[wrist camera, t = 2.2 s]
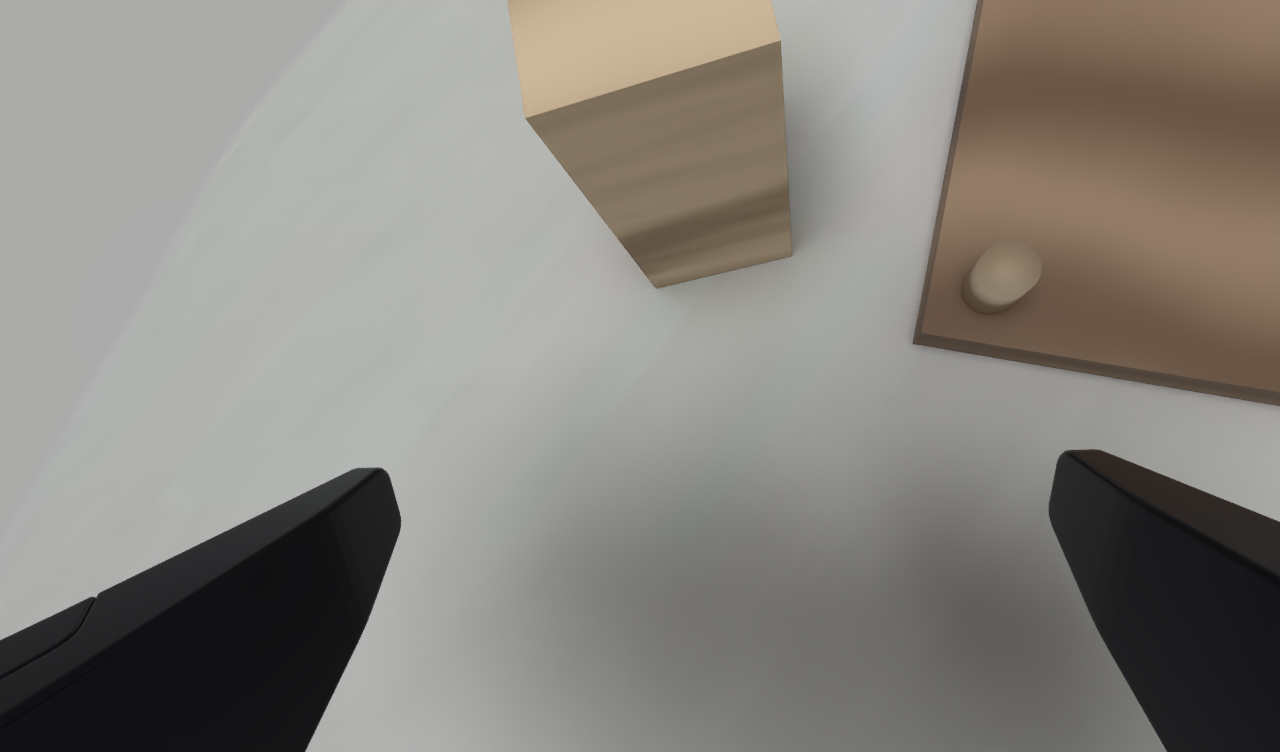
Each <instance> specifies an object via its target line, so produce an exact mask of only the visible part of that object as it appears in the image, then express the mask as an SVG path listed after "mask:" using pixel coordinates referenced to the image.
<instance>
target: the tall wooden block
mask: <svg viewBox="0 0 1280 752" xmlns="http://www.w3.org/2000/svg"><path fill="white" fill-rule="evenodd" d="M507 2H508V9H509V15H510V22H511V28H512V35H513V41H514V48H515V55H516V61H517V68H518V74H519V81H520V88H521V94H522V101H523V107H524V114H525V119H526V120H527V121H528V123H529V124H530V125H531V126H532V128H533V129H534V130H535V132H536V133H537V134H538V136H539V137H540V138H541V139H542V141H543V142H544V143H545V145H546V146H547V147H548V149H549V150H550V151H551V152H552V154H553V155H554V156H555V158H556V159H557V160H558V162H559V163H560V164H561V166H562V167H563V168H564V169H565V171H566V172H567V173H568V175H569V176H570V177H571V179H572V180H573V181H574V182H575V184H576V185H577V186H578V188H579V189H580V190H581V192H582V193H583V194H584V195H585V197H586V198H587V199H588V201H589V202H590V203H591V205H592V206H593V207H594V208H595V210H596V211H597V212H598V214H599V215H600V216H601V218H602V219H603V220H604V222H605V223H606V224H607V225H608V227H609V228H610V229H611V231H612V232H613V233H614V235H615V236H616V237H617V238H618V240H619V241H620V242H621V244H622V245H623V246H624V248H625V249H626V250H627V251H628V253H629V254H630V255H631V257H632V258H633V259H634V261H635V262H636V263H637V264H638V266H639V267H640V268H641V270H642V271H643V272H644V274H645V275H646V276H647V278H648V279H649V280H650V281H651V283H652V284H653V285H654V287H655V288H656V289H657V288H661V287H665V286H669V285H673V284H677V283H682V282H686V281H690V280H694V279H698V278H702V277H707V276H711V275H715V274H719V273H723V272H727V271H732V270H736V269H740V268H744V267H748V266H752V265H756V264H761V263H765V262H769V261H773V260H777V259H781V258H786V257H790V256H792V245H791V226H790V207H789V189H788V170H787V151H786V132H785V114H784V95H783V76H782V57H781V40H780V36H779V32H778V27H777V23H776V19H775V15H774V10H773V6H772V2H771V0H507Z"/></svg>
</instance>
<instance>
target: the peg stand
mask: <svg viewBox="0 0 1280 752" xmlns="http://www.w3.org/2000/svg"><path fill="white" fill-rule="evenodd" d="M913 344H919V345H925V346H931V347H936V348H942V349H948V350H954V351H960V352H966V353H972V354H978V355H984V356H990V357H995V358H1001V359H1007V360H1013V361H1019V362H1025V363H1031V364H1037V365H1043V366H1049V367H1054V368H1060V369H1066V370H1072V371H1078V372H1084V373H1090V374H1096V375H1102V376H1108V377H1113V378H1119V379H1125V380H1131V381H1137V382H1143V383H1149V384H1155V385H1161V386H1166V387H1172V388H1178V389H1184V390H1190V391H1196V392H1202V393H1208V394H1214V395H1220V396H1225V397H1231V398H1237V399H1243V400H1249V401H1255V402H1261V403H1267V404H1273V405H1279V406H1280V0H978V2H977V7H976V13H975V18H974V23H973V28H972V34H971V39H970V44H969V50H968V55H967V60H966V65H965V71H964V76H963V81H962V87H961V92H960V97H959V102H958V108H957V113H956V118H955V124H954V129H953V134H952V140H951V145H950V150H949V155H948V161H947V166H946V171H945V177H944V182H943V187H942V192H941V198H940V203H939V208H938V214H937V219H936V224H935V229H934V235H933V240H932V245H931V251H930V256H929V261H928V267H927V272H926V277H925V282H924V288H923V293H922V298H921V304H920V309H919V314H918V319H917V325H916V330H915V335H914V341H913Z"/></svg>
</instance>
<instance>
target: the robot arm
mask: <svg viewBox="0 0 1280 752" xmlns="http://www.w3.org/2000/svg"><path fill="white" fill-rule="evenodd" d="M1049 517H1050V521H1051V524H1052V527H1053V529H1054V532H1055V534H1056V536H1057V539H1058V541H1059V543H1060V546H1061V548H1062V550H1063V553H1064V555H1065V557H1066V560H1067V562H1068V564H1069V566H1070V569H1071V571H1072V573H1073V576H1074V578H1075V580H1076V583H1077V585H1078V587H1079V590H1080V592H1081V594H1082V597H1083V599H1084V601H1085V604H1086V606H1087V608H1088V610H1089V613H1090V615H1091V617H1092V619H1093V621H1094V623H1095V625H1096V627H1097V629H1098V631H1099V633H1100V635H1101V637H1102V639H1103V641H1104V642H1105V644H1106V646H1107V648H1108V650H1109V651H1110V653H1111V655H1112V657H1113V658H1114V660H1115V662H1116V664H1117V665H1118V667H1119V669H1120V670H1121V672H1122V674H1123V676H1124V677H1125V679H1126V681H1127V683H1128V684H1129V686H1130V688H1131V690H1132V691H1133V693H1134V695H1135V697H1136V698H1137V700H1138V702H1139V704H1140V705H1141V707H1142V709H1143V711H1144V712H1145V714H1146V716H1147V717H1148V719H1149V721H1150V723H1151V724H1152V726H1153V728H1154V730H1155V731H1156V733H1157V735H1158V737H1159V738H1160V740H1161V742H1162V744H1163V745H1164V747H1165V749H1166V751H1167V752H1280V522H1279V521H1276V520H1274V519H1271V518H1269V517H1266V516H1264V515H1261V514H1259V513H1256V512H1254V511H1251V510H1249V509H1246V508H1244V507H1241V506H1239V505H1236V504H1234V503H1231V502H1229V501H1226V500H1224V499H1221V498H1219V497H1216V496H1214V495H1211V494H1209V493H1206V492H1204V491H1201V490H1199V489H1196V488H1194V487H1191V486H1189V485H1186V484H1184V483H1181V482H1179V481H1176V480H1174V479H1171V478H1169V477H1166V476H1164V475H1161V474H1159V473H1156V472H1154V471H1151V470H1149V469H1146V468H1144V467H1141V466H1139V465H1136V464H1134V463H1131V462H1129V461H1126V460H1124V459H1121V458H1119V457H1116V456H1114V455H1111V454H1109V453H1106V452H1104V451H1101V450H1068V451H1065V452H1063V453H1062V454H1061V455H1060V457H1059V459H1058V461H1057V465H1056V470H1055V476H1054V481H1053V486H1052V491H1051V496H1050V502H1049ZM400 528H401V516H400V512H399V508H398V504H397V501H396V497H395V494H394V490H393V487H392V483H391V480H390V477H389V474H388V473H387V471H385V470H384V469H382V468H356V469H353V470H351V471H349V472H347V473H344V474H342V475H340V476H338V477H336V478H334V479H332V480H330V481H328V482H326V483H324V484H322V485H320V486H318V487H316V488H314V489H312V490H310V491H308V492H305V493H303V494H301V495H299V496H297V497H295V498H293V499H291V500H289V501H287V502H285V503H283V504H281V505H279V506H277V507H275V508H273V509H271V510H269V511H267V512H264V513H262V514H260V515H258V516H256V517H254V518H252V519H250V520H248V521H246V522H244V523H242V524H240V525H238V526H236V527H234V528H232V529H230V530H228V531H225V532H223V533H221V534H219V535H217V536H215V537H213V538H211V539H209V540H207V541H205V542H203V543H201V544H199V545H197V546H195V547H193V548H191V549H189V550H186V551H184V552H182V553H180V554H178V555H176V556H174V557H172V558H170V559H168V560H166V561H164V562H162V563H160V564H158V565H156V566H154V567H152V568H150V569H148V570H145V571H143V572H141V573H139V574H137V575H135V576H133V577H131V578H129V579H127V580H125V581H123V582H121V583H119V584H117V585H115V586H113V587H111V588H109V589H106V590H104V591H102V592H100V593H99V594H98V595H97V597H96V598H95V597H90V598H88V599H86V600H84V601H82V602H80V603H77V604H75V605H73V606H71V607H69V608H67V609H65V610H63V611H61V612H59V613H57V614H55V615H53V616H51V617H48V618H46V619H44V620H42V621H40V622H38V623H36V624H34V625H32V626H30V627H27V628H25V629H23V630H21V631H19V632H17V633H15V634H13V635H11V636H8V637H6V638H4V639H2V640H0V752H305V751H306V749H307V747H308V745H309V743H310V741H311V739H312V737H313V734H314V732H315V730H316V728H317V726H318V724H319V722H320V720H321V718H322V716H323V714H324V712H325V710H326V708H327V706H328V703H329V701H330V699H331V697H332V695H333V693H334V691H335V689H336V687H337V685H338V683H339V681H340V679H341V677H342V675H343V673H344V670H345V668H346V666H347V664H348V662H349V660H350V658H351V656H352V654H353V652H354V650H355V648H356V646H357V644H358V642H359V639H360V637H361V635H362V633H363V630H364V628H365V626H366V624H367V621H368V619H369V616H370V614H371V611H372V608H373V606H374V603H375V600H376V597H377V595H378V592H379V589H380V586H381V583H382V581H383V578H384V575H385V572H386V569H387V567H388V564H389V561H390V558H391V555H392V553H393V550H394V547H395V544H396V541H397V539H398V536H399V533H400Z"/></svg>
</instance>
